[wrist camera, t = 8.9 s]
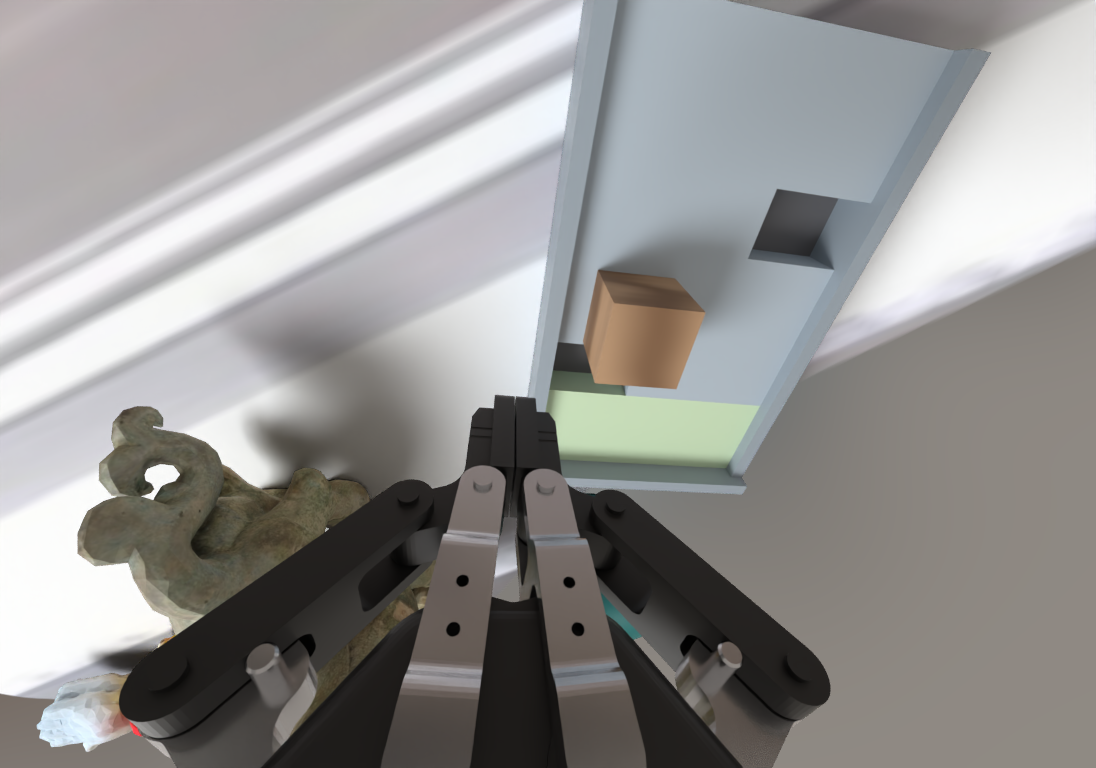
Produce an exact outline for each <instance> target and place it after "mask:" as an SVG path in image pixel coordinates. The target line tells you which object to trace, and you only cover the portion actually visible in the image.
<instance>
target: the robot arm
mask: <svg viewBox="0 0 1096 768" xmlns="http://www.w3.org/2000/svg"><path fill="white" fill-rule="evenodd" d="M509 503H510V517H517V529H516V535H515V544H516V556H517V568H518V579H519V593H520V601H519V602H508V601H504V600H501V599H498V598H494V597H492V590H493V582H494V574H495V566H496V558H497V550H498V542H499V536H500V535H501V532H502V526H503V518H504V517H508V511H509ZM433 560H436V563H435V567H434V571H433V575H432V579H431V583H430V587H429V590H428V594H427V598H426V602H425V606H424V608H422V609H420V610H418V611H416V612H414V613H412V614H410V615H409V616H407V617H406V618H404V619H403V620H402V621H400V622H399V623H398V624H397V625H396V626H395V627H393V628H392V629H391V630H390V631H389V632H388V633H387V635H386V636H385V637H384V638H383V639H382V640H381V641H380V642H379V643H378V644H377V645H376V646H375V647H374V648H373V649H372V650H371V651H370V653H369V654H368V655H367V656H366V657H365V658H364V659H363V660H362V661H361V662H360V663H359V664H358V665H357V666H356V667H355V668H354V669H353V671H352V672H351V673H350V674H349V675H348V676H347V677H346V678H345V679H344V680H343V681H342V682H341V683H340V684H339V685H338V686H337V687H336V688H335V690H334V691H333V692H332V693H331V694H330V695H329V696H328V697H327V698H326V699H325V700H324V701H323V702H322V703H321V704H320V705H319V706H318V708H317V709H316V710H315V711H314V712H313V713H312V714H311V715H310V716H309V717H308V718H307V719H306V720H305V721H304V722H303V723H302V724H301V725H300V727H299V728H298V729H297V730H296V731H295V732H294V733H293V734H292V735H291V736H290V737H289V735H290V733H291V731H292V729H293V728H294V726H295V725H296V723H297V722H298V721H299V719H300V718H301V717H302V716H303V714H304V713H305V712H306V711H307V709H308V708H309V706H310V705H311V703H312V701H313V699H314V697H315V694H316V691H317V685H318V679H317V674H316V673H317V672H318V671H319V670H320V669H321V668H322V667H323V666H324V665H325V664H326V663H327V662H329V661H330V660H331V659H332V658H333V657H334V656H335V655H336V654H337V653H338V652H339V651H340V650H341V649H342V648H343V647H345V646H346V645H347V644H348V643H349V642H350V641H351V640H352V639H353V638H354V637H355V636H356V635H357V634H358V633H359V632H360V631H362V630H363V629H364V628H365V627H366V626H367V625H368V624H369V623H370V622H371V621H372V620H373V619H374V618H375V617H376V616H378V615H379V614H380V613H381V612H382V611H383V610H384V609H385V608H386V607H387V606H388V605H389V604H390V603H391V602H392V601H393V600H395V599H396V598H397V597H398V596H399V595H400V594H401V593H402V592H403V591H404V590H405V589H406V588H407V587H408V586H409V585H410V584H412V583H413V582H414V581H415V580H416V579H417V578H418V577H419V576H420V575H421V574H422V573H423V572H424V571H425V570H426V569H428V567H429V566H430V565H431V564H432V562H433ZM600 592H601V593H602V594H603V595H604V596H605V597H606V598H607V599H608V600H609V602H610V603H611V604H612V605H613V606H614V607H615V608H616V609H617V610H618V611H619V612H620V613H621V614H622V615H623V616H624V618H625V619H626V620H627V621H628V622H629V623H630V624H631V625H632V626H633V627H634V628H635V629H636V630H637V631H638V633H639V634H640V635H641V636H642V637H643V638H644V639H645V640H646V641H647V642H648V643H649V644H650V645H651V646H652V647H653V648H654V650H655V651H656V652H657V653H658V654H659V655H660V656H661V657H662V658H663V659H664V660H665V661H666V662H667V663H668V665H669V666H670V667H671V668H672V669H673V670H674V671H675V672H676V674H675V681H676V686H677V690H678V691H677V690H676V689H675V688H674V687H673V685H672V684H671V683H670V682H669V681H668V680H667V678H666V677H665V676H664V675H663V674H662V673H661V672H660V670H659V669H658V668H657V667H656V666H655V665H654V663H653V662H652V661H651V660H650V659H649V658H648V656H647V655H646V654H645V653H644V652H643V651H642V650H641V648H640V647H639V646H638V645H637V644H636V643H635V641H634V640H633V639H632V638H631V637H630V636H629V634H628V633H627V632H626V631H625V630H624V629H623V628H622V627H621V626H620V625H619V624H618V623H617V622H616V621H615V620H613V619H612V618H611V617H609V616H608V615H606V613H605V609H604V605H603V601H602V597H601V593H600ZM829 696H830V682H829V678H828V675H827V673H826V671H825V669H824V667H823V665H822V664H821V662H820V661H819V659H818V658H817V657H816V656H815V655H814V654H813V653H812V652H811V651H810V650H809V649H808V648H807V647H806V646H805V645H803V644H802V643H801V642H800V641H799V640H797V639H796V638H795V637H794V636H793V635H792V634H790V633H789V632H788V631H787V630H786V629H785V628H783V627H782V626H781V625H780V624H778V623H777V622H776V621H775V620H774V619H773V618H771V617H770V616H769V615H768V614H767V613H766V612H764V611H763V610H762V609H761V608H760V607H759V606H757V605H756V604H755V603H754V602H753V601H751V600H750V599H749V598H748V597H747V596H746V595H744V594H743V593H742V592H741V591H740V590H738V589H737V588H736V587H735V586H734V585H732V584H731V583H730V582H729V581H728V580H727V579H725V578H724V577H723V576H722V575H721V574H720V573H718V572H717V571H716V570H715V569H714V568H712V567H711V566H710V565H709V564H708V563H707V562H705V561H704V560H703V559H702V558H701V557H699V556H698V555H697V554H696V553H695V552H693V551H692V550H691V549H690V548H689V547H688V546H686V545H685V544H684V543H683V542H682V541H681V540H679V539H678V538H677V537H676V536H675V535H673V534H672V533H671V532H670V531H669V530H667V529H666V528H665V527H664V526H663V525H662V524H660V523H659V522H658V521H657V520H656V519H654V518H653V517H652V516H651V515H650V514H649V513H647V512H646V511H645V510H644V509H643V508H641V507H640V506H639V505H638V504H637V503H635V502H634V501H633V500H632V499H631V498H630V497H628V496H627V495H625V494H624V493H622V492H619V491H615V490H604V491H601V492H599V493H597V494H596V495H595V497H594V496H591V495H587V494H584V493H581V492H579V491H577V490H575V489H573V488H572V487H571V486H569V485H568V484H567V482H566V480H565V479H564V477H563V476H562V471H561V463H560V455H559V447H558V439H557V431H556V423H555V421H554V419H553V418H552V416H551V415H550V414H549V412H537V408H536V398H530V397H517V396H516V399H515V396H503V395H495V401H494V409H492V408H479V409H478V410H477V411H476V412H475V414H474V415H473V416H472V422H471V430H470V437H469V444H468V451H467V459H466V466H465V470H464V473H463V474H462V476H461V477H460V478H459V479H458V480H456V481H455V482H453V483H452V484H449V485H447V486H443V487H439V488H434V489H432V488H431V487H430V486H429V485H428V484H426V483H425V482H422V481H419V480H404V481H400V482H398V483H396V484H394V485H392V486H391V487H389V488H388V489H387V490H385V491H384V492H382V493H381V494H379V495H378V496H376V497H375V498H374V499H372V500H371V501H369V502H368V503H366V504H365V505H363V506H362V507H361V508H359V509H358V510H356V511H355V512H353V513H352V514H350V515H349V516H348V517H346V518H345V519H343V520H342V521H340V522H339V523H337V524H336V525H335V526H333V527H332V528H330V529H329V530H327V531H326V532H324V533H323V534H322V535H320V536H319V537H317V538H316V539H314V540H313V541H311V542H310V543H309V544H307V545H306V546H304V547H303V548H301V549H300V550H298V551H297V552H296V553H294V554H293V555H291V556H290V557H288V558H287V559H285V560H284V561H283V562H281V563H280V564H278V565H277V566H275V567H274V568H272V569H271V570H270V571H268V572H267V573H265V574H264V575H262V576H261V577H259V578H258V579H257V580H255V581H254V582H252V583H251V584H249V585H248V586H246V587H245V588H244V589H242V590H241V591H239V592H238V593H236V594H235V595H234V596H232V597H231V598H229V599H228V600H226V601H225V602H223V603H222V604H221V605H219V606H218V607H216V608H215V609H213V610H212V611H210V612H209V613H208V614H206V615H205V616H203V617H202V618H200V619H199V620H197V621H196V622H195V623H193V624H192V625H190V626H189V627H187V628H186V629H184V630H183V631H182V632H180V633H179V634H177V635H176V636H174V637H173V638H171V639H170V640H169V641H167V642H166V643H164V644H163V645H161V646H160V647H158V648H157V649H156V650H154V651H153V652H151V653H150V654H149V655H147V656H146V657H145V658H144V659H143V660H142V661H141V662H140V663H139V664H138V665H137V666H136V667H135V668H134V669H133V671H132V672H131V673H130V675H129V676H128V677H127V679H126V681H125V683H124V685H123V687H122V689H121V692H120V696H119V708H120V711H121V713H122V714H123V715H124V716H125V717H126V718H127V719H128V720H129V721H130V722H132V723H133V724H134V725H135V726H136V727H137V728H138V731H139V733H140V734H141V735H142V736H143V737H144V738H145V739H146V740H148V741H149V742H150V743H151V744H152V745H154V746H155V747H156V748H157V749H158V750H160V751H161V752H162V753H163V754H164V755H166V756H168V757H170V758H171V759H172V760H173V762H174V764H175V765H176V767H177V768H772V767H773V765H774V763H775V761H776V758H777V756H778V754H779V752H780V750H781V748H782V746H783V744H784V741H785V739H786V737H787V735H788V733H789V731H790V729H791V728H792V727H793V726H794V725H796V724H797V723H798V722H800V721H801V720H802V719H804V718H805V717H806V716H808V715H809V714H811V713H812V712H813V711H814V710H816V709H817V708H818V707H820V706H821V705H822V704H824V703H825V702H826V701H827V700H828V698H829Z"/></svg>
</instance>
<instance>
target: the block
mask: <svg viewBox="0 0 1096 768" xmlns="http://www.w3.org/2000/svg"><path fill="white" fill-rule="evenodd" d="M705 313H706V312H705V311H704V310H703V309H702V308H701V307H700V306H699V304H698V303H697V302H696V301H695V300H694V299H693V298H692V297H691V296H690V294H689V293H688V292H687V291H686V290H685V289H684V288H683V287H682V285H681V284H680V283H679V282H678V281H677V280H676V279H675V278H667V277H658V276H649V275H640V274H631V273H622V272H613V271H604V270H598V271H597V276H596V281H595V285H594V290H593V295H592V300H591V305H590V309H589V314H588V319H587V324H586V329H585V334H584V338H583V344H584V347H585V351H586V354H587V358H588V361H589V365H590V368H591V372H592V375H593V379H594V383H598V384H611V385H625V386H638V387H651V388H665V389H677V386H678V384H679V381H680V379H681V376H682V373H683V371H684V368H685V365H686V363H687V360H688V358H689V355H690V352H691V350H692V347H693V345H694V342H695V339H696V337H697V334H698V332H699V329H700V326H701V324H702V321H703V318H704V316H705Z"/></svg>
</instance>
